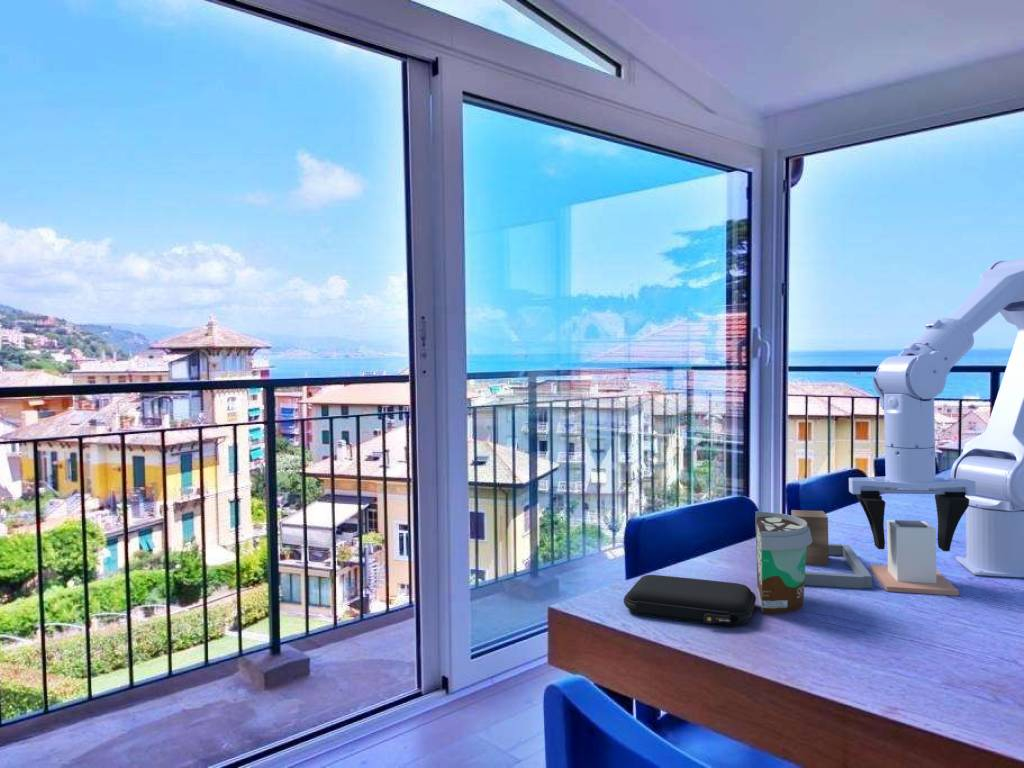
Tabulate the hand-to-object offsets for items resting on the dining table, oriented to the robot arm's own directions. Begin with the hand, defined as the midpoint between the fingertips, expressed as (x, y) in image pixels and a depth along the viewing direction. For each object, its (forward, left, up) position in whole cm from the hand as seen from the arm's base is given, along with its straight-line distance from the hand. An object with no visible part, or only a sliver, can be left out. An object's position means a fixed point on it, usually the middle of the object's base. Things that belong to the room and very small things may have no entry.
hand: (911, 548), depth 91 cm
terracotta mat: (0, 0, -4) cm, 4 cm away
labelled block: (0, 0, -4) cm, 4 cm away
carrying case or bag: (+28, +17, -5) cm, 33 cm away
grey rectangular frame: (+12, -4, -4) cm, 13 cm away
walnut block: (+12, -8, -4) cm, 15 cm away
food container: (+17, +12, -5) cm, 21 cm away
